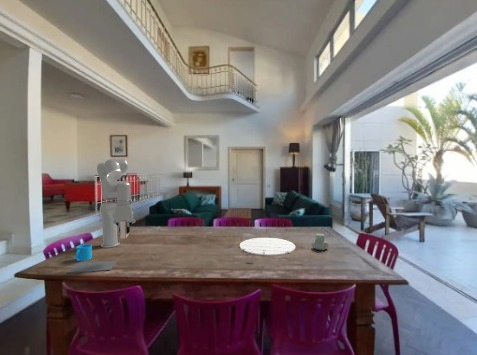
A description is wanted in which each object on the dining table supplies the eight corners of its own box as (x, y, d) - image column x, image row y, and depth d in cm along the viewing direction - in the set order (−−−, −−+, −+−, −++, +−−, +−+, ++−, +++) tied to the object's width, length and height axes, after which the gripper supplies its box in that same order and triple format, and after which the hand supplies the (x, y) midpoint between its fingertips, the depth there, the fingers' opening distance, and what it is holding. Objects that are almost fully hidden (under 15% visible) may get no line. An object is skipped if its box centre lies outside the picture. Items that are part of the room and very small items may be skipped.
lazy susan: (295, 258, 168) (295, 252, 168) (234, 254, 176) (234, 249, 176) (295, 240, 207) (295, 236, 207) (244, 238, 215) (244, 233, 215)
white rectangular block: (123, 235, 167) (123, 219, 166) (128, 235, 167) (128, 219, 166) (120, 238, 160) (120, 221, 159) (125, 238, 160) (125, 221, 159)
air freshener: (319, 252, 179) (319, 237, 179) (309, 248, 186) (309, 234, 186) (330, 249, 185) (330, 234, 185) (320, 246, 192) (320, 232, 192)
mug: (82, 256, 174) (82, 243, 173) (94, 256, 173) (94, 244, 172) (69, 263, 162) (68, 249, 161) (82, 263, 161) (81, 250, 160)
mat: (77, 264, 160) (77, 263, 160) (117, 261, 164) (117, 260, 164) (67, 273, 147) (66, 272, 147) (110, 270, 150) (110, 269, 150)
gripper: (139, 201, 167) (140, 231, 168) (111, 202, 164) (112, 232, 166) (136, 203, 160) (137, 234, 161) (107, 204, 157) (108, 235, 158)
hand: (124, 233), depth 163 cm, fingers closed on white rectangular block, 3 cm apart
